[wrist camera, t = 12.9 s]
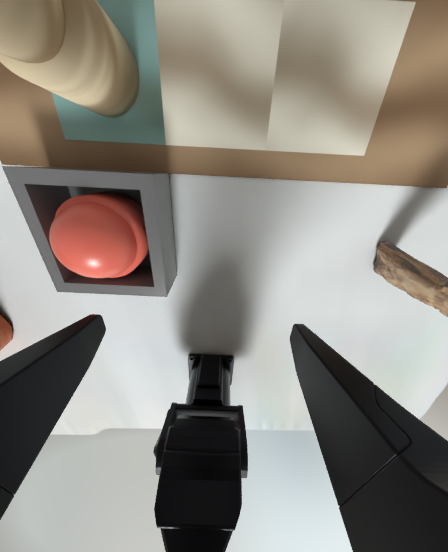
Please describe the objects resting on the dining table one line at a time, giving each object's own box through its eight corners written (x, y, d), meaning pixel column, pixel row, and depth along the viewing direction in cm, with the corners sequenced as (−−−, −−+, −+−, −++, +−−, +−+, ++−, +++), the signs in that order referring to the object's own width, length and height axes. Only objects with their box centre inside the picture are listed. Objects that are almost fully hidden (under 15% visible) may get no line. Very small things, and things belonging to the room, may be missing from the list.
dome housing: (177, 275, 22) (166, 296, 18) (86, 270, 21) (57, 291, 18) (168, 173, 17) (152, 174, 13) (51, 166, 17) (2, 166, 13)
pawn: (142, 120, 15) (42, 56, 7) (75, 114, 15) (-108, 40, 7) (134, 22, 12) (-34, -252, 4) (54, 13, 12) (-267, -286, 4)
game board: (444, 187, 17) (446, 188, 17) (4, 164, 17) (1, 164, 16) (567, -41, 11) (574, -45, 11) (-104, -85, 11) (-111, -90, 11)
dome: (158, 264, 20) (133, 299, 15) (91, 261, 20) (42, 295, 15) (148, 193, 17) (112, 204, 11) (68, 189, 17) (-5, 198, 11)
